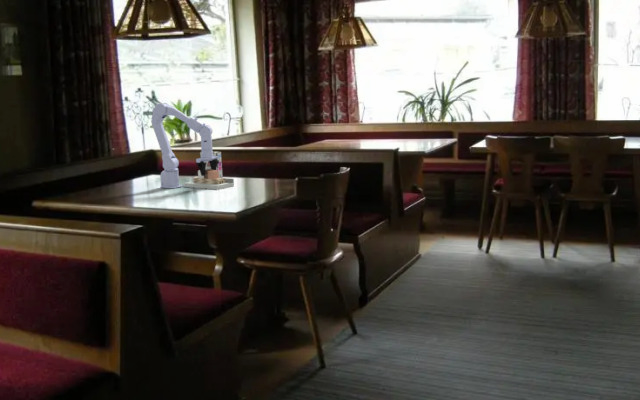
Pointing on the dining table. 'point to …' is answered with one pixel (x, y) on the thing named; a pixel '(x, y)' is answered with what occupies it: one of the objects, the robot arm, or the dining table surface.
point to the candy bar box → (219, 166)
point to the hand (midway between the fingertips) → (208, 174)
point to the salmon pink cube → (213, 174)
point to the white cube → (200, 174)
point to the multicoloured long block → (208, 181)
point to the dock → (227, 184)
